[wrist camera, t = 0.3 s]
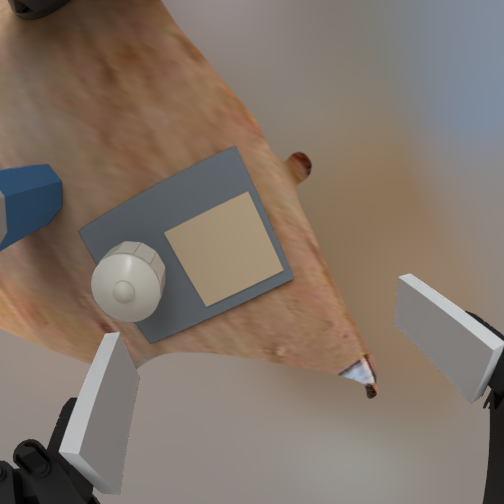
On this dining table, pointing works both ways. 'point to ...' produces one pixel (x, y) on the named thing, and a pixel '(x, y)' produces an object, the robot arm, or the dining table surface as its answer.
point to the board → (198, 242)
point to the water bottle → (27, 201)
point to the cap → (129, 282)
